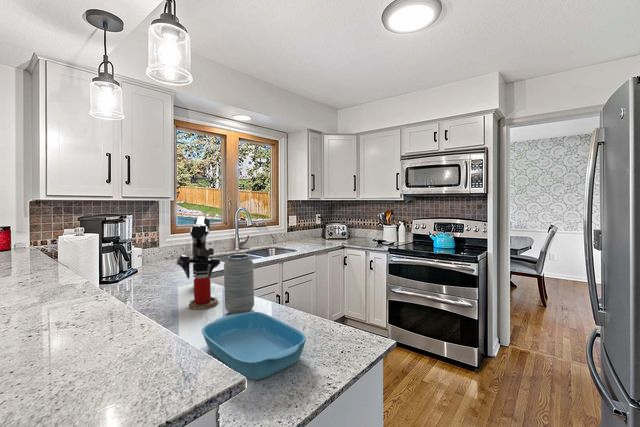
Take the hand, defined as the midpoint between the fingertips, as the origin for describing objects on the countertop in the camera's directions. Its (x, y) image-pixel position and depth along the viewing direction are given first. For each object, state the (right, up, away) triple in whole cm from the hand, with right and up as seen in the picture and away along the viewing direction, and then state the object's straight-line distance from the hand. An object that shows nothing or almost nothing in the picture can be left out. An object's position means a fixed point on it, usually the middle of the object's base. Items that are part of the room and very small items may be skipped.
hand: (198, 278), depth 143 cm
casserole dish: (+36, -12, -50) cm, 63 cm away
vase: (+23, -10, -16) cm, 30 cm away
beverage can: (+5, -9, -8) cm, 13 cm away
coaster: (+5, -10, -8) cm, 14 cm away
